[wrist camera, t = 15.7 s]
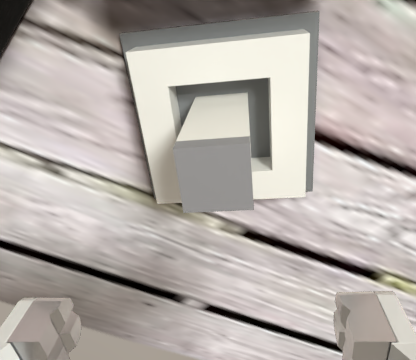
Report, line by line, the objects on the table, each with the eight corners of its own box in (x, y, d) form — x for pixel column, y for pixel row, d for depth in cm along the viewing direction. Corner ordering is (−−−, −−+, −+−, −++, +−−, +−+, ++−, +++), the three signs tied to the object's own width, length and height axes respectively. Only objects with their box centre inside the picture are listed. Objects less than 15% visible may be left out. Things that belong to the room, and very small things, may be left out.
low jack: (122, 32, 26) (107, 37, 23) (317, 10, 24) (327, 13, 21) (155, 195, 32) (147, 214, 29) (311, 187, 30) (317, 207, 28)
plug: (195, 96, 27) (172, 148, 18) (247, 92, 26) (250, 143, 17) (201, 144, 29) (183, 212, 20) (250, 141, 28) (253, 209, 19)
